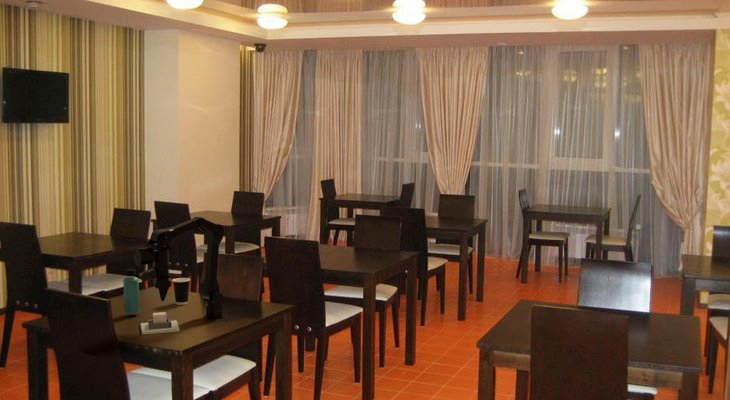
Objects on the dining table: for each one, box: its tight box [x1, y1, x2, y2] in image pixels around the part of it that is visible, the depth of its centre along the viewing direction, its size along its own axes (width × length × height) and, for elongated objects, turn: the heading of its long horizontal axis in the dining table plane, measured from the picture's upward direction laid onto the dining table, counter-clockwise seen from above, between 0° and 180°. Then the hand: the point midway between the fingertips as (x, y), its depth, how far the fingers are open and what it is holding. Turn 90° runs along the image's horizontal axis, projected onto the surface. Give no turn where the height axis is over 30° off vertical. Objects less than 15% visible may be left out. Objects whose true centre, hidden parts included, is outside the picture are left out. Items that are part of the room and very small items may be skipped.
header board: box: [140, 317, 180, 336], centre depth 299 cm, size 14×14×3 cm
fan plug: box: [150, 311, 167, 323], centre depth 298 cm, size 6×4×5 cm, turn 108°
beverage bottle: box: [122, 268, 141, 315], centre depth 318 cm, size 6×7×20 cm
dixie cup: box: [171, 277, 191, 306], centre depth 341 cm, size 8×8×11 cm
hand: (162, 300), depth 299 cm, fingers closed
